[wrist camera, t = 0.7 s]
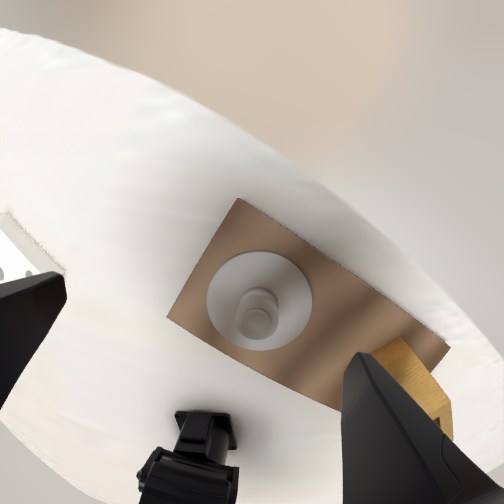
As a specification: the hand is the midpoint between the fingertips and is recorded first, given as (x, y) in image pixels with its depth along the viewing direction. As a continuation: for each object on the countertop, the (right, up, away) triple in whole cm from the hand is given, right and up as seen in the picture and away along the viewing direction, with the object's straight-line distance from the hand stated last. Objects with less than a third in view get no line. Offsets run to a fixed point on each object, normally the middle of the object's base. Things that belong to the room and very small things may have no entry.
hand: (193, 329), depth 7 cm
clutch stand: (+8, -5, +17) cm, 20 cm away
